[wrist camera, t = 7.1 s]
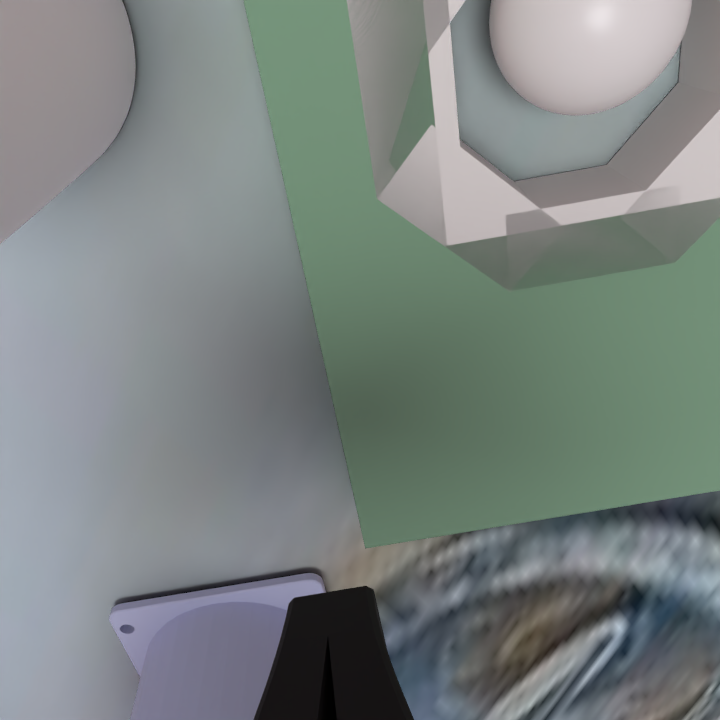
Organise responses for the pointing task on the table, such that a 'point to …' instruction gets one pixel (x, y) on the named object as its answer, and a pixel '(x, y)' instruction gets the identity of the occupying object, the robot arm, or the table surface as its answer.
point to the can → (58, 96)
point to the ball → (584, 49)
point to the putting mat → (495, 280)
